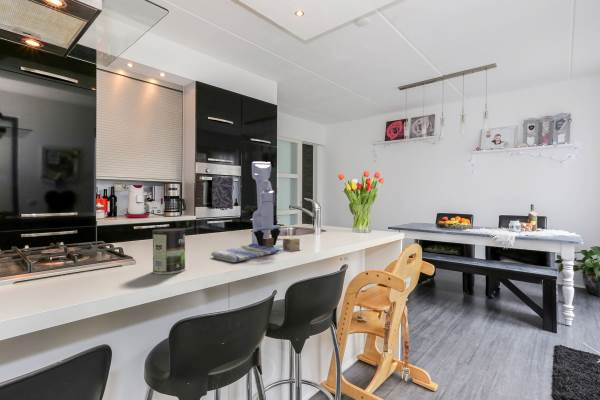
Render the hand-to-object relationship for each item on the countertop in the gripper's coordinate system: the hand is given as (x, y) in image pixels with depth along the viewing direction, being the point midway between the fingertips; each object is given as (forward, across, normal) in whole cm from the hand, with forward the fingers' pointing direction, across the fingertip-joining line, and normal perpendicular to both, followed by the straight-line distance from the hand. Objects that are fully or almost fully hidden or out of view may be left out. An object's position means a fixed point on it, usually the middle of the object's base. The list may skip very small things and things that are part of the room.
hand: (267, 245), depth 143 cm
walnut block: (+1, 0, 0) cm, 1 cm away
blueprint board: (+2, +4, -4) cm, 6 cm away
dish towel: (+2, -15, -6) cm, 16 cm away
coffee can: (+2, -48, -10) cm, 49 cm away
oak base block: (+1, +8, -8) cm, 11 cm away
